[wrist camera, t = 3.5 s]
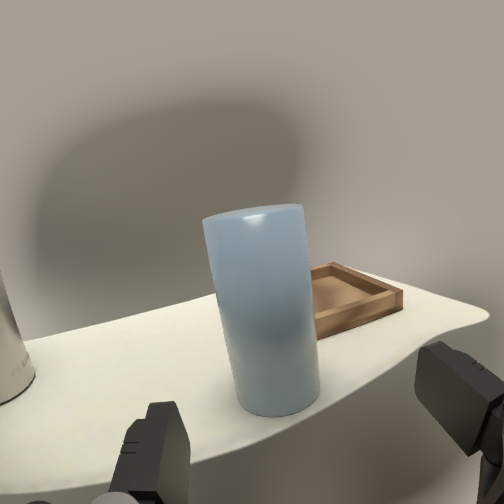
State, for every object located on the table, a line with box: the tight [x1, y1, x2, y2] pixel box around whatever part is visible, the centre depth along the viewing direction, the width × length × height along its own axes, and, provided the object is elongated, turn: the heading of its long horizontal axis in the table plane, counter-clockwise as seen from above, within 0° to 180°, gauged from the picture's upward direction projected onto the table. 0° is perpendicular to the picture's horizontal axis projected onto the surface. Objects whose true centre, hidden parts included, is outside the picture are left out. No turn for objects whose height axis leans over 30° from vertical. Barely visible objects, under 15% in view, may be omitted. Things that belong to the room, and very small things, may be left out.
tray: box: [310, 262, 403, 340], centre depth 34 cm, size 12×14×2 cm
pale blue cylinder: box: [202, 204, 320, 417], centre depth 19 cm, size 6×6×12 cm
